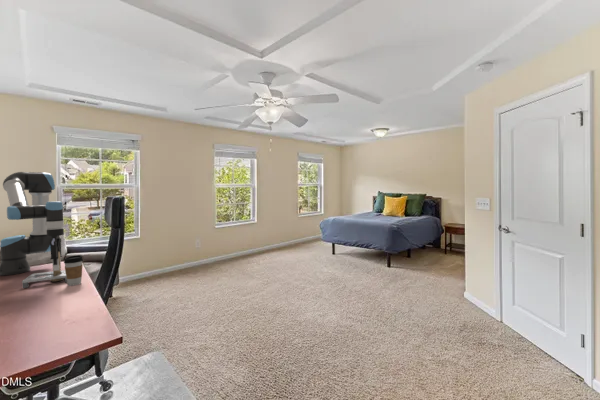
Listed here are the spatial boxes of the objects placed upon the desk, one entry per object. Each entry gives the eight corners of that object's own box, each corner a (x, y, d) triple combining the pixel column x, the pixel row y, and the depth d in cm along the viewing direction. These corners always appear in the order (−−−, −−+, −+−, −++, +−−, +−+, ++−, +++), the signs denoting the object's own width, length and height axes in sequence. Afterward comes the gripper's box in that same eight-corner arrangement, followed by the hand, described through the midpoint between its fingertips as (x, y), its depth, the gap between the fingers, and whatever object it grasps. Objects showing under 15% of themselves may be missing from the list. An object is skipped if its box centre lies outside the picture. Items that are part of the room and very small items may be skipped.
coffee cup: (87, 281, 164) (86, 255, 164) (74, 286, 156) (73, 258, 155) (74, 281, 165) (73, 255, 164) (60, 286, 156) (59, 258, 156)
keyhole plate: (32, 280, 169) (32, 273, 169) (75, 275, 178) (75, 268, 178) (22, 288, 155) (22, 280, 155) (70, 282, 164) (69, 275, 164)
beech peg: (52, 279, 169) (51, 251, 168) (64, 278, 171) (63, 250, 171) (49, 282, 164) (48, 253, 164) (62, 280, 167) (61, 252, 166)
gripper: (50, 227, 172) (52, 267, 173) (42, 230, 158) (44, 273, 159) (66, 226, 176) (68, 265, 176) (59, 229, 162) (61, 271, 162)
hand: (56, 269), depth 168 cm, fingers closed on beech peg, 3 cm apart
